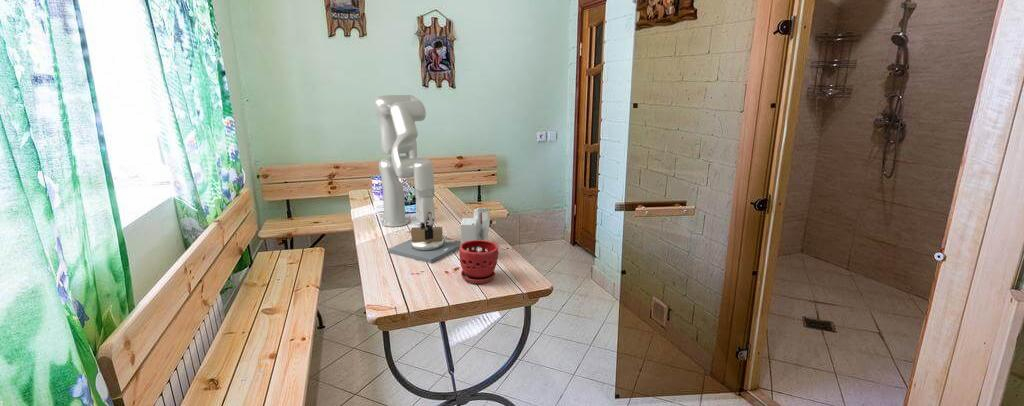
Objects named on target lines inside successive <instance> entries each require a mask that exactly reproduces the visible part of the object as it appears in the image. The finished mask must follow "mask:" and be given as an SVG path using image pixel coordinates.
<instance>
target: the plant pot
mask: <svg viewBox="0 0 1024 406" xmlns="http://www.w3.org/2000/svg"><path fill="white" fill-rule="evenodd" d="M473 247H474V250H472V248H473ZM477 247H478V248H480V249H481V251H478V252H477V251H476V248H477ZM467 248H468V249H469V250H468V251H466V250H467ZM458 251H459V262H460V266H461V269H462V270H461V271H460V272H461V273H460V276H461V278H462V279H463V280H464V281H465V282H468V283H470V284H471V283H472V284H484V283H488V282H490V281H492V280H493V279H494V278H495V276H496V272H495V269H496V268H497V264H498V260H499V259H498V257H499V246H498V244H496V243H495V242H493V241H489V240H488V241H485V240H472V241H467V242H464V243H462V244H461V245H460V249H459V250H458ZM463 259H464V260H463Z"/></svg>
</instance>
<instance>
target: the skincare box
mask: <svg viewBox="0 0 1024 406" xmlns="http://www.w3.org/2000/svg"><path fill="white" fill-rule="evenodd" d="M460 223H461V224H460V241H461V244H462V243H464V242H467V241H472V240H478V219H477V218H473V217H462V219H461V222H460ZM478 248H479V247H477V248H476V251H477V252H479V250H478ZM468 250H469V249H468V248H467V250H466V251H468ZM472 250H474V247H473V248H472ZM463 260H464V259H463Z"/></svg>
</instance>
